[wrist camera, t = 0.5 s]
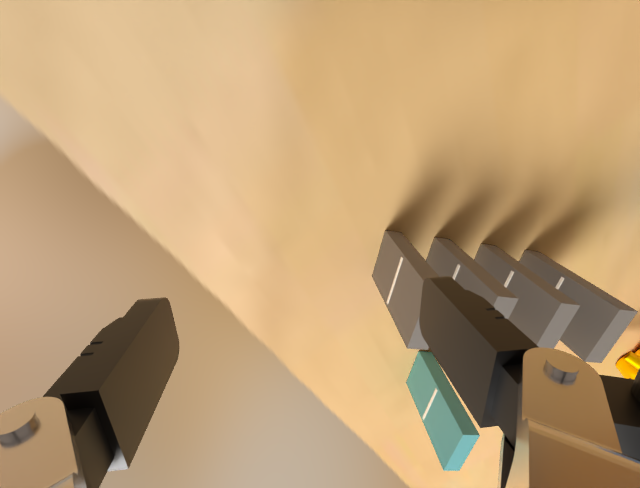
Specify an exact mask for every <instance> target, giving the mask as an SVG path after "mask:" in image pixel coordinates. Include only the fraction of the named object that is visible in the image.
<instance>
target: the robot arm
mask: <svg viewBox="0 0 640 488" xmlns="http://www.w3.org/2000/svg"><path fill="white" fill-rule="evenodd" d="M419 324H420V330H421V334H422V336H423V338H424V340H425V342H426V343H427V345H428V346H429V348H430V349H431V351H432V353H433V354H434V356H435V357H436V359H437V360H438V362H439V364H440V365H441V367H442V368H443V370H444V371H445V373H446V375H447V376H448V378H449V379H450V381H451V382H452V384H453V386H454V387H455V389H456V390H457V392H458V393H459V395H460V397H461V398H462V400H463V401H464V403H465V404H466V406H467V408H468V409H469V411H470V412H471V414H472V415H473V417H474V419H475V420H476V422H477V423H478V425H479V426H480V428H483V427H492V426H499V427H500V428H501V430H502V431H503V437H502V441H501V451H500V463H499V476H498V488H640V368H639V370H638V372H637V375H636V377H635V379H626V378H619V377H612V376H604V375H599V374H598V373H597V372H596V371H595V370H594V369H593V368H592V367H591V366H590V365H589V364H587V363H586V362H584V361H583V360H581V359H579V358H577V357H575V356H573V355H571V354H569V353H566V352H563V351H560V350H556V349H552V348H543V347H539V346H537V345H536V344H535V343H534V342H533V341H532V340H531V339H530V338H528V337H527V336H526V335H525V334H524V333H523V332H522V331H521V330H519V329H518V328H517V327H516V326H515V325H514V324H513V323H512V322H510V321H509V320H508V319H505V316H504V315H503V314H501V313H500V312H499V311H498V310H495V307H494V306H492V305H491V304H490V303H489V302H488V301H487V300H486V299H485V298H483V297H481V296H479V295H477V294H475V293H473V292H471V291H469V290H465V289H464V288H463V287H462V286H460V285H459V284H458V283H457V282H456V281H455V280H454V279H453V278H452V277H450V276H444V277H431V278H426V279H425V280H424V282H423V287H422V297H421V307H420V317H419ZM178 354H179V339H178V335H177V331H176V326H175V322H174V318H173V314H172V310H171V306H170V302H169V300H168V299H167V298H153V299H141V300H137V302H135V304H134V305H133V306H132V307H131V309H130V310H129V311H128V312H127V313H126V315H125V316H124V317H123V318H118V319H117V320H115V321H114V322H112V323H111V324H109V325H108V326H106V327H105V328H103V329H102V330H101V331H100V332H99V333H98V334H97V335H96V337H95V338H94V339H93V340H92V341H91V343H90V345H88V346H87V347H86V348H85V349H84V350H83V352H82V353H81V356H79V357H77V358H76V359H75V361H74V362H73V363H72V364H71V365H70V366H69V367H68V369H67V370H66V371H65V372H64V373H63V374H62V375H61V376H60V378H59V379H58V380H57V381H56V382H55V383H54V384H53V386H52V387H51V388H50V389H49V390H48V391H47V393H46V394H45V395H44V396H43V397H41V398H36V399H32V400H29V401H26V402H23V403H20V404H18V405H16V406H14V407H12V408H10V409H8V410H6V411H4V412H2V413H1V414H0V488H100V484H101V483H102V480H103V479H104V476H105V475H106V473H107V471H115V470H123V469H128V468H129V466H130V463H131V462H132V460H133V457H134V455H135V453H136V451H137V448H138V446H139V444H140V442H141V440H142V437H143V435H144V433H145V431H146V429H147V426H148V424H149V422H150V420H151V417H152V415H153V413H154V411H155V408H156V406H157V404H158V402H159V400H160V398H161V395H162V393H163V391H164V389H165V386H166V384H167V382H168V380H169V378H170V375H171V373H172V371H173V369H174V366H175V364H176V362H177V359H178Z"/></svg>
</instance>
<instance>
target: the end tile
mask: <svg viewBox="0 0 640 488" xmlns="http://www.w3.org/2000/svg"><path fill="white" fill-rule="evenodd" d="M406 383H407V386H408V388H409V390H410V393H411V395H412V397H413V400H414V402H415V404H416V407H417V409H418V411H419V414H420V416H421V418H422V421H423V423H424V425H425V428H426V430H427V433H428V435H429V437H430V440H431V442H432V444H433V447H434V449H435V451H436V454H437V456H438V458H439V461H440V463H441V465H442V468H443V470H446V471H459V470H460V469H461V467H462V465H463V463H464V462H465V460H466V458H467V456H468V455H469V453H470V451H471V450H472V448H473V446H474V444H475V443H476V441H477V439H478V437H479V436H480V435H479V433H478V431H477V430H476V428H475V426H474V425H473V423H472V421H471V419H470V418H469V416H468V414H467V412H466V411H465V409H464V407H463V405H462V404H461V402H460V400H459V399H458V397H457V395H456V393H455V392H454V390H453V388H452V386H451V385H450V383H449V381H448V380H447V378H446V376H445V374H444V373H443V371H442V369H441V367H440V366H439V364H438V362H437V360H436V359H435V357H434V355H433V354H432V352H425V351H419V352H418V354H417V357H416V359H415V362H414V364H413V367H412V369H411V372H410V374H409V377H408V379H407V382H406Z"/></svg>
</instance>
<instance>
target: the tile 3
mask: <svg viewBox="0 0 640 488" xmlns="http://www.w3.org/2000/svg"><path fill="white" fill-rule="evenodd" d="M474 261H476V262H477V263H478V264H479V265H480V266H481V267H483V268H484V269H485V270H486V271H487V272H488V273H490V274H491V275H492V276H493V277H494V278H495V279H497V280H498V281H499V282H500V283H501V284H502V285H504V286H505V287H506V288H507V289H508V290H509V291H511V292H512V293H513V294H514V295H515V296H516V297H518V298H519V299H518V301H517V303H516V305H515V307H514V309H513V311H512V313H511V315H510V317H509V319H508V320H509V321H510V322H512V323H513V324H514V325H515V326H516V327H517V328H518V329H519V330H521V331H522V332H523V333H524V334H525V335H526V336H527V337H528V338H530V339H531V340H532V341H533V342H534V343H535V344H536V345H537V346H539V347H543V348H552V349H554V347H555V346H556V344H557V343H558V341H559V339H560V338H561V336H562V335H563V333H564V331H565V330H566V328H567V326H568V325H569V323H570V322H571V320H572V318H573V317H574V315H575V314H576V312H577V310H578V309H579V307H580V305H579V304H578V303H576V302H575V301H574V300H572V299H571V298H569V297H568V296H566V295H565V294H564V293H562V292H561V291H559V290H558V289H556V288H555V287H554V286H552V285H551V284H549V283H548V282H546V281H545V280H544V279H542V278H541V277H539V276H538V275H537V274H535V273H534V272H532V271H531V270H529V269H528V268H527V267H525V266H524V265H522V264H521V263H519V262H518V261H517V260H515V259H514V258H512V257H511V256H509V255H508V254H507V253H505V252H504V251H502V250H501V249H499V248H498V247H497V246H494V245H487V244H481V245H480V247H479V250H478V252H477V254H476V257H475V259H474Z"/></svg>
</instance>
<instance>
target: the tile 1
mask: <svg viewBox="0 0 640 488" xmlns="http://www.w3.org/2000/svg"><path fill="white" fill-rule="evenodd" d="M372 277H373V279H374V281H375V284H376V286H377V288H378V290H379V292H380V294H381V296H382V298H383V300H384V302H385V304H386V306H387V308H388V310H389V312H390V314H391V316H392V318H393V320H394V322H395V325H396V327H397V329H398V331H399V333H400V335H401V337H402V339H403V341H404V343H405V345H406V347H407V348H409V349H423V350H428V348H429V346H428V345H427V343H426V342H425V340H424V338H423V336H422V334H421V330H420V324H419V317H420V307H421V297H422V287H423V282H424V280H425V279H426V278H431V277H439V276H438V274H437V273H436V272H435V271H434V270H433V269H432V267H431V266H430V265H429V264H428V263H427V262H426V261H425V259H424V258H423V257H422V256H421V255H420V254H419V252H418V251H417V250H416V249H415V248H414V247H413V246H412V244H411V243H410V242H409V241H408V240H407V239H406V237H405V236H404V235H403V234H402V233H401V232H394V231H386V230H385V233H384V236H383V240H382V243H381V247H380V250H379V254H378V257H377V261H376V264H375V268H374V271H373V275H372Z"/></svg>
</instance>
